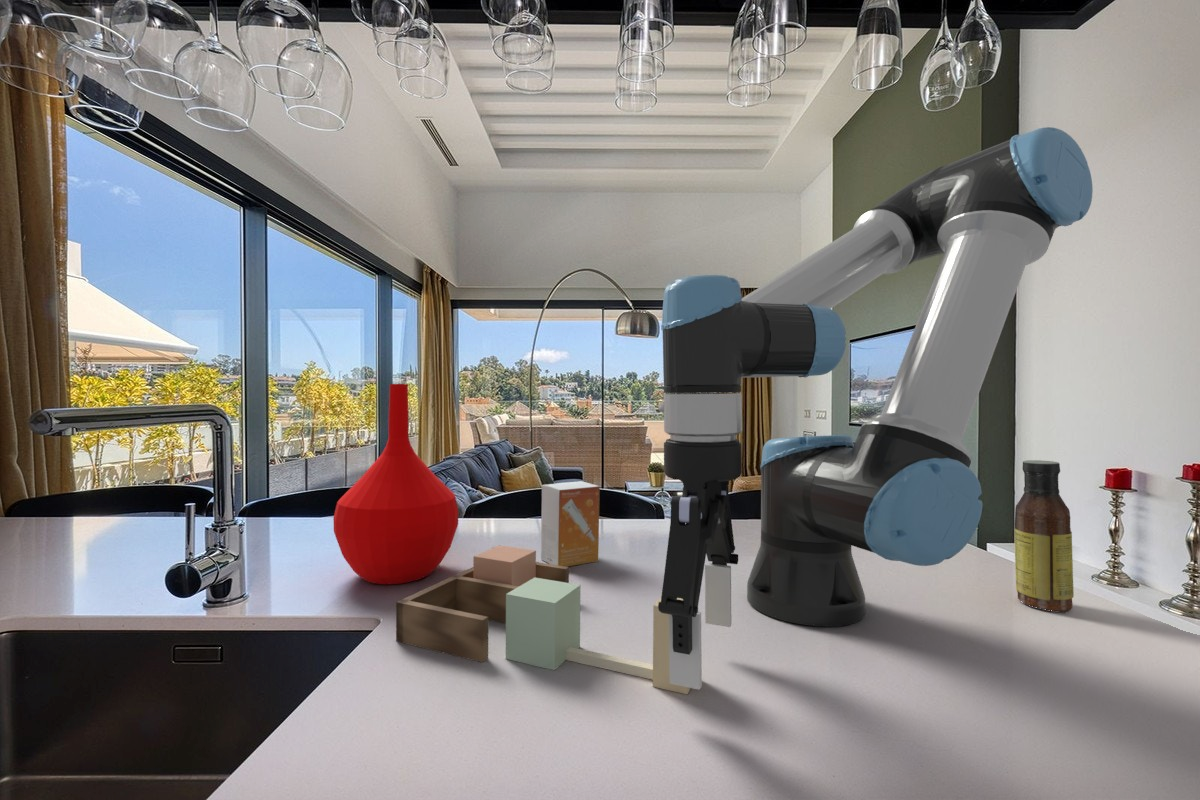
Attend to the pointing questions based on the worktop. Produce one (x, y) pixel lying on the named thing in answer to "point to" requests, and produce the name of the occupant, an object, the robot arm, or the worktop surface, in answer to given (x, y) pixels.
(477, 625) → the lane rack
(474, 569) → the terracotta block
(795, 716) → the worktop surface
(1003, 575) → the worktop surface
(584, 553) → the small box
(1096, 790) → the worktop surface
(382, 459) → the vase
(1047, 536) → the sauce bottle
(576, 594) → the tethered block
